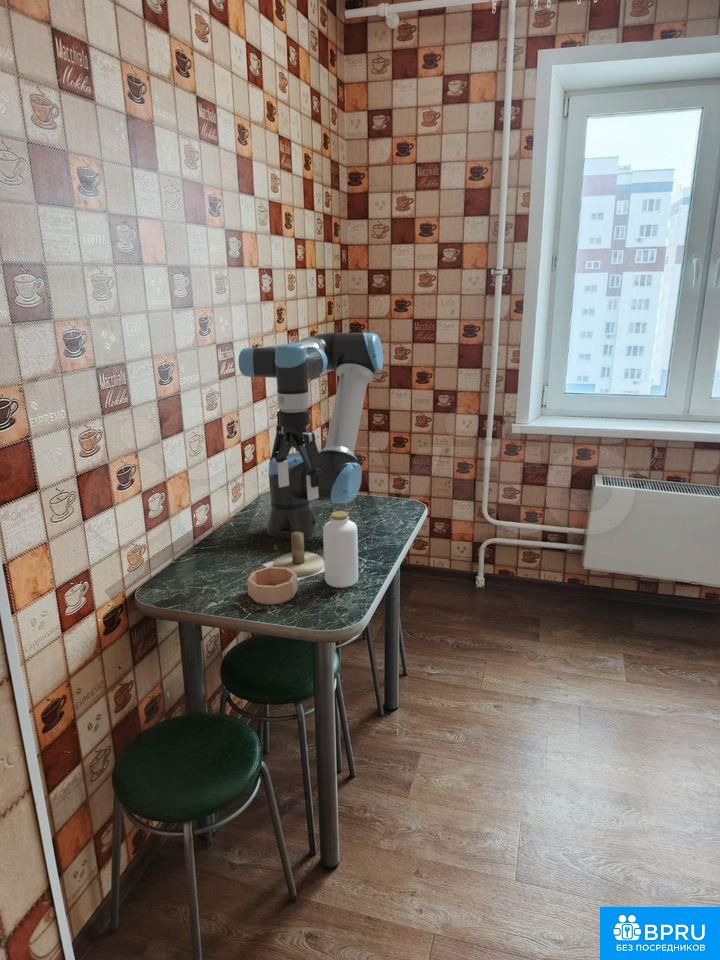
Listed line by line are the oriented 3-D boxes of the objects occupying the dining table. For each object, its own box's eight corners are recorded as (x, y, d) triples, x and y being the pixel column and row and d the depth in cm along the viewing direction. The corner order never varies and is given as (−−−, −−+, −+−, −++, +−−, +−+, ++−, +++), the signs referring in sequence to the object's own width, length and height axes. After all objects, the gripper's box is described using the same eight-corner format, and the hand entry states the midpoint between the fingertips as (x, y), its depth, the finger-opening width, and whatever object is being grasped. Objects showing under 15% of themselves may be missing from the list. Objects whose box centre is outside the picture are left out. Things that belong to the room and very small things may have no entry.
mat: (262, 565, 172) (262, 564, 172) (307, 552, 180) (307, 551, 180) (289, 584, 161) (288, 582, 161) (336, 569, 169) (335, 567, 169)
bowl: (242, 594, 156) (241, 575, 155) (282, 581, 163) (281, 563, 161) (264, 611, 148) (262, 591, 147) (304, 597, 154) (303, 578, 153)
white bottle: (324, 575, 165) (321, 508, 160) (357, 573, 166) (355, 507, 161) (325, 590, 157) (322, 520, 152) (359, 588, 158) (358, 519, 153)
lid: (264, 564, 172) (262, 532, 169) (306, 552, 179) (305, 521, 176) (289, 581, 162) (287, 548, 159) (333, 567, 169) (332, 535, 166)
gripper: (254, 404, 165) (260, 484, 172) (309, 419, 146) (313, 508, 153) (280, 400, 169) (284, 478, 176) (336, 414, 151) (339, 501, 157)
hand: (298, 492), depth 164 cm, fingers open, 13 cm apart
